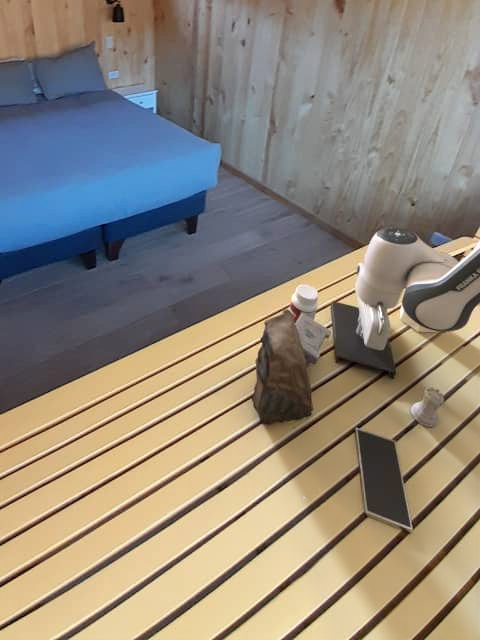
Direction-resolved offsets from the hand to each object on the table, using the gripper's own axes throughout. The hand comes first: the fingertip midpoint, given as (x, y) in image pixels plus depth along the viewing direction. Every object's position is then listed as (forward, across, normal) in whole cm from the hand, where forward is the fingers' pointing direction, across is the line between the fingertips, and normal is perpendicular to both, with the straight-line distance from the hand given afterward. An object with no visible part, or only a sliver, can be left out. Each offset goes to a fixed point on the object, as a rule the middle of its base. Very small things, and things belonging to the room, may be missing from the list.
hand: (362, 330), depth 99 cm
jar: (+4, +12, -15) cm, 20 cm away
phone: (+3, -32, 0) cm, 32 cm away
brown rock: (+4, -24, +18) cm, 30 cm away
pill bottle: (+4, 0, +14) cm, 15 cm away
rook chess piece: (+4, -16, -10) cm, 20 cm away
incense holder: (+4, -12, +14) cm, 19 cm away
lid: (+3, 0, 0) cm, 3 cm away
